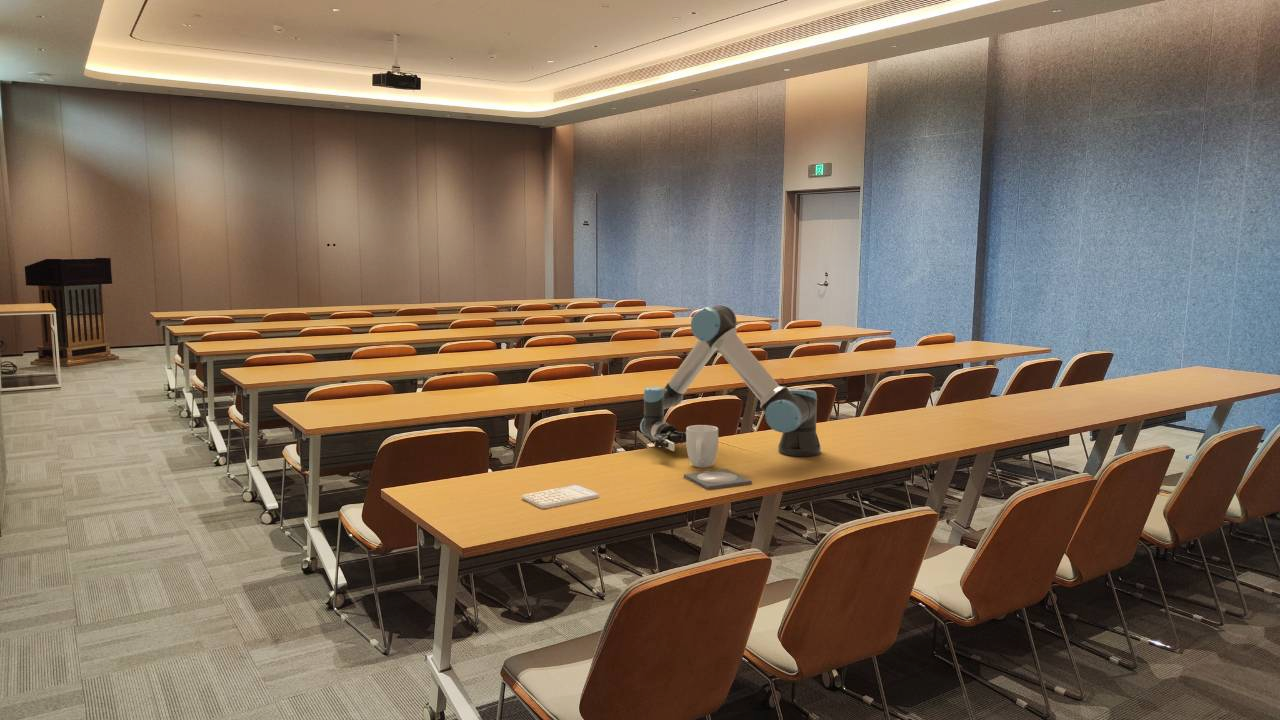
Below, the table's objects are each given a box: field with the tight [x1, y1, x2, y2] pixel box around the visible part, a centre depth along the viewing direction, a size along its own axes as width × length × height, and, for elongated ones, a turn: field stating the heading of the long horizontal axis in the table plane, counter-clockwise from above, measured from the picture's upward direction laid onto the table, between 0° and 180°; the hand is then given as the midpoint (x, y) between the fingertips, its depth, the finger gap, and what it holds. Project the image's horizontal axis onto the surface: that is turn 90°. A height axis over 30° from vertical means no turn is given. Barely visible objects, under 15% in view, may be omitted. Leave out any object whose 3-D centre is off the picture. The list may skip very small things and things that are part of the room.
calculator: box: [521, 484, 600, 509], centre depth 258 cm, size 13×20×2 cm, turn 127°
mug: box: [685, 424, 719, 469], centre depth 293 cm, size 15×11×13 cm
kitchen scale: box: [683, 468, 753, 490], centre depth 277 cm, size 16×16×1 cm
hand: (691, 445), depth 300 cm, fingers open, 13 cm apart
